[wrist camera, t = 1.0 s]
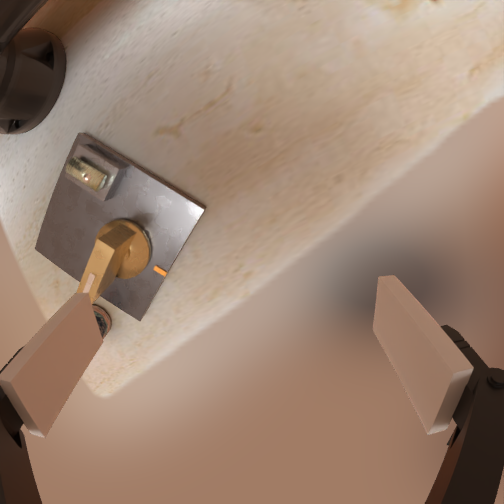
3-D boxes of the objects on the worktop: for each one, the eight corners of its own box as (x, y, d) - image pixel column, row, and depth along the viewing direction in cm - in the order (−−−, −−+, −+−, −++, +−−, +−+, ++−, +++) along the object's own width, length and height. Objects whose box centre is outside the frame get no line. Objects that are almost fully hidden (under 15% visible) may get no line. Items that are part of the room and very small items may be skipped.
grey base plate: (40, 245, 38) (14, 260, 32) (84, 133, 33) (56, 133, 27) (143, 315, 41) (128, 341, 35) (206, 207, 36) (196, 219, 30)
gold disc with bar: (86, 265, 37) (53, 293, 29) (111, 208, 34) (76, 225, 27) (131, 295, 38) (105, 329, 30) (160, 239, 36) (136, 265, 28)
